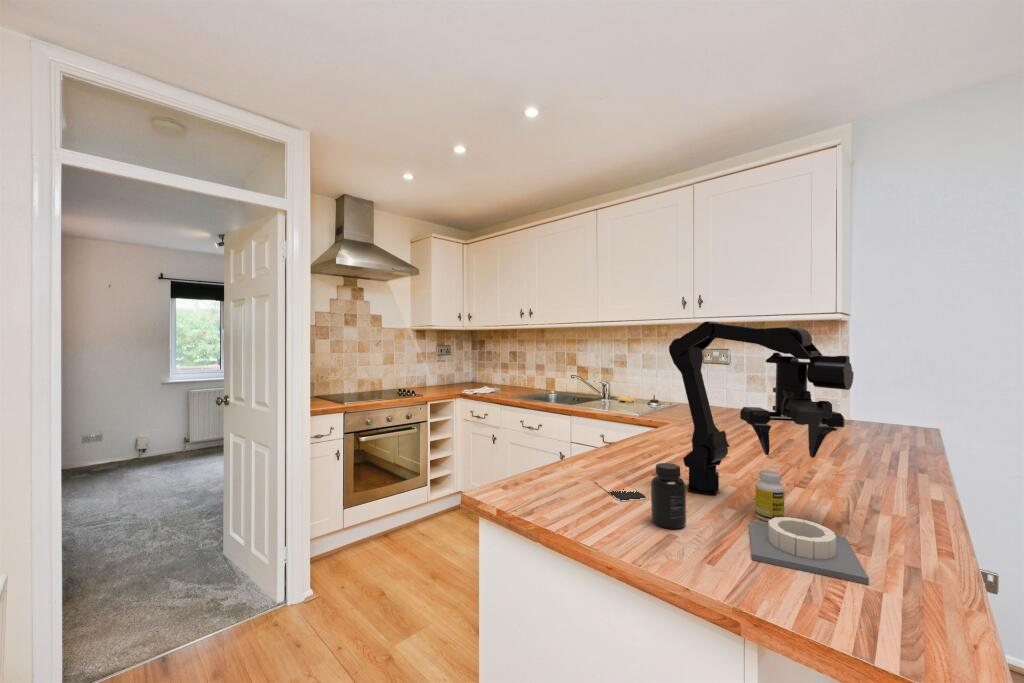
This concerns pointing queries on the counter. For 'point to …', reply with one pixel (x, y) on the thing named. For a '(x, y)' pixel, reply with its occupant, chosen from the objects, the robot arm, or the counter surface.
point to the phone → (627, 495)
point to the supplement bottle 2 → (769, 496)
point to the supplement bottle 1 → (668, 497)
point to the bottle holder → (805, 548)
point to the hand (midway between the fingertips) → (789, 456)
